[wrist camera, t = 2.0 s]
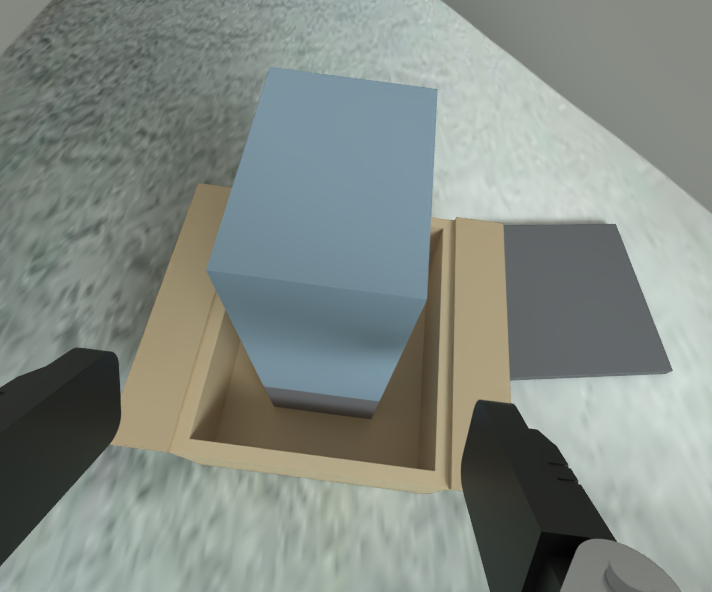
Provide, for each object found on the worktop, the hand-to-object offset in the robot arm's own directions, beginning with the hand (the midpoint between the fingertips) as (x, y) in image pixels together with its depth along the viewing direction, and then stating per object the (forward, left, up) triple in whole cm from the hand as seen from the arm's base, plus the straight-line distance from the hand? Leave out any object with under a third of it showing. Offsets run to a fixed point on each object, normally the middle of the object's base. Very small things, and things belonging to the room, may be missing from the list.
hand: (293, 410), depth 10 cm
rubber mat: (-15, -9, -13) cm, 22 cm away
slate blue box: (-1, -6, -13) cm, 14 cm away
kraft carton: (-1, -6, -13) cm, 15 cm away
